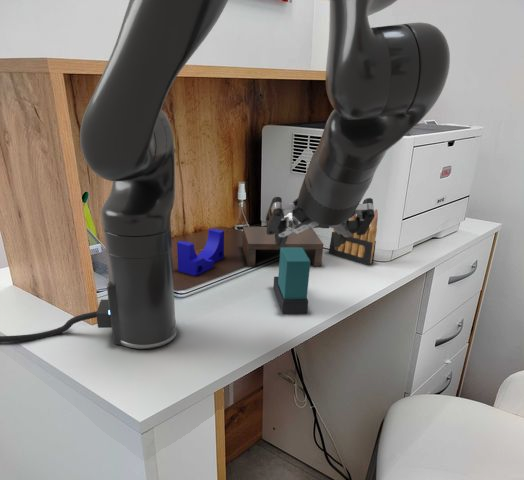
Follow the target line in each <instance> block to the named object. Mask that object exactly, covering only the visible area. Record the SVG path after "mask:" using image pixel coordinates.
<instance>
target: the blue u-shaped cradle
mask: <svg viewBox="0 0 524 480" xmlns="http://www.w3.org/2000/svg"><path fill="white" fill-rule="evenodd" d="M176 248H177V249H176V250H177V251H176V252H177V268H178V270H177V271H178V272H181V273H183V274H188V275H190V276H193V277H196V276H199V275H202V274H203V273H205V272H208V271H209V270H212V269H213V268H214V265H215V264H214V263H216V262H219V261H221V260H222V259H225V230H221V229H217V228H210V229H208V235H207V240H206V243H205V246H204V247H203V249H202V250H201V251H200V253H198V254H197V253H196V250H195V244H194V242H193V243H192V242H189V241H185V240H179V241H178V242H176Z"/></svg>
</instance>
